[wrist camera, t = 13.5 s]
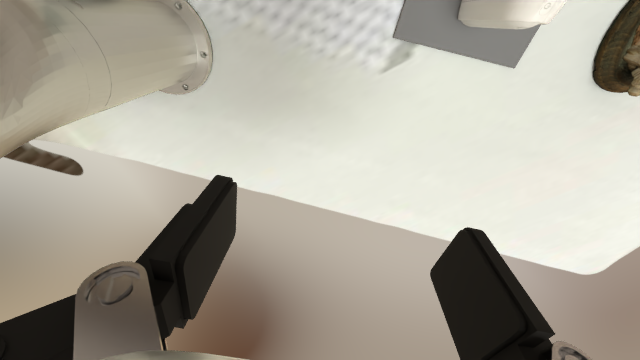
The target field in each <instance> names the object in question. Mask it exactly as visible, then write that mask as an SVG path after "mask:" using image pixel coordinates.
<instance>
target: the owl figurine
mask: <svg viewBox="0 0 640 360" xmlns="http://www.w3.org/2000/svg"><path fill="white" fill-rule="evenodd" d="M594 61H595V67H596V71H594V73H593V75H594V76H593V77H594V81H595V82H596V83H597V84H598V85H599V86H600V87H601V88H602V89H604V90H607V91H611V92H619V93H623V92H628V93H629V95H631V96H639V95H640V0H630V1H629V2H628V4H627V5H626V6H625V7H624V8H623V10H622V11H621V12H620V14H619V15H618V17H617V18H616V20H615V21H614V23H613V24H612V26H611V27H610V29H609V30H608V32H607V33H606V35H605V37H604V39H603V41H602V43H601V45H600V47H599V49H598V52H597V55H596V58H595V60H594Z"/></svg>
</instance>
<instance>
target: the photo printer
mask: <svg viewBox="0 0 640 360" xmlns="http://www.w3.org/2000/svg"><path fill="white" fill-rule="evenodd" d="M566 1H567V0H462V2H461V6H460V10H459V15H458V20H461V22H462V23H463V24H464V25H466V26H469V27H482V28H500V29H526V28H530V27H534V26H536V25H538V24H539V25H544V24H549V23H550V21H551V20H552V19H553V18H554V17H555V16H556V14H557V13H558V12H559V11H560V10H561V8H562V7H563V6H564V4H565V3H566Z"/></svg>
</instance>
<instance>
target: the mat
mask: <svg viewBox="0 0 640 360" xmlns="http://www.w3.org/2000/svg"><path fill="white" fill-rule="evenodd" d="M461 2H462V0H405V2H404V5H403V8H402V11H401V14H400V17H399V21H398V24H397V27H396V30H395V33H394V36H393V38H397V39H401V40H405V41H408V42H412V43H416V44H420V45H424V46H428V47H432V48H436V49H440V50H444V51H448V52H452V53H456V54H460V55H464V56H468V57H472V58H475V59H479V60H483V61H487V62H491V63H495V64H499V65H503V66H507V67H511V68H515V67H516V65H517V63H518V62H519V60H520V58H521V57H522V55H523V53H524V52H525V50H526V48H527V47H528V45H529V43H530V42H531V40H532V38H533V37H534V35H535V33H536V32H537V30H538V28H539V27H540V25H539V24H538V25H536V26H534V27H530V28H526V29H500V28H482V27H469V26H466V25H464V24H463V23H462V22H461V20H458V15H459V10H460V6H461Z"/></svg>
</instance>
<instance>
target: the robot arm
mask: <svg viewBox="0 0 640 360" xmlns="http://www.w3.org/2000/svg"><path fill="white" fill-rule="evenodd" d="M180 5H182V8H181V6H180ZM205 53H206V55H207V56H206V55H205ZM211 66H212V48H211V42H210V39H209V36H208V33H207V31H206V29H205V26H204V24H203V22H202V21H201V19H200V18H199V16H198V15H197V13H196V12H195V11H194V9H193V8H192V7H191V6H190V5H189V4H188V3H187V2H186V1H185V0H0V158H2V157H3V156H5V155H7V154H8V153H10V152H11V151H13V150H15V149H16V148H18V147H20V146H21V145H23V144H25V143H27V142H29V141H31V140H33V139H34V138H36V137H38V136H41V135H43V134H45V133H47V132H49V131H52V130H54V129H56V128H59V127H61V126H64V125H66V124H69V123H71V122H74V121H76V120H79V119H82V118H84V117H87V116H90V115H93V114H96V113H99V112H101V111H104V110H107V109H110V108H112V107H115V106H118V105H120V104H123V103H126V102H129V101H131V100H134V99H137V98H139V97H142V96H145V95H148V94H150V93H153V92H156V91H158V90H159V91H162V92H165V93H168V94H185V93H189V92H192V91H194V90H196V89H197V88H199V87H200V86H201V85H203V83H204V82H205V81H206V79H207V78H208V75H209V73H210V71H211ZM187 85H188V86H187ZM236 197H237V183H236V182H233V179H232V178H230V177H225V176H220V175H216V176H215V177H214V178H213V180H212V181H211V182H210V183H209V185H208V186H207V187H206V189H205V190H204V191H203V192H202V193H201V194H200V196H199V197H198V198H197V199H196V201H195V202H194V203H193V204H185V205H184V206H183V207H182V208H181V209H180V211H179V212H178V213H177V214H176V215H175V216H174V218H173V219H172V220H171V221H170V222H169V223H168V225H167V226H166V227H165V228H164V229H163V231H162V232H161V233H160V234H159V235H158V236H157V237H156V239H155V240H154V241H153V242H152V243H151V245H150V246H149V247H148V248H147V249H146V250H145V251H144V253H143V254H142V255H141V256H140V257H139V259H138V260H137V261H136V262H118V263H114V264H110V265H108V266H105V267H102V268H101V269H99V270H97V271H96V272H94V273H92V274H91V275H90V276H89V277H88V278H86V279H85V280H84V281H83V283H82V284H81V286H80V287H79V288H78V290H77V294H75V295H72V296H70V297H67V298H64V299H62V300H60V301H57V302H54V303H52V304H49V305H46V306H44V307H41V308H39V309H36V310H33V311H31V312H29V313H26V314H23V315H21V316H18V317H15V318H13V319H10V320H8V321H5V322H3V323H0V360H248V359H241V358H233V357H226V356H220V355H213V354H206V353H195V352H185V351H168V348H167V344H166V339H165V338H167V337H168V336H170V334H171V333H172V331H173V329H174V327H178V328H184V327H185V325H186V323H187V321H188V319H194V318H195V316H196V314H197V312H198V310H199V308H200V306H201V304H202V302H203V300H204V298H205V296H206V294H207V292H208V290H209V288H210V286H211V284H212V282H213V280H214V278H215V276H216V274H217V272H218V269H219V267H220V265H221V263H222V261H223V259H224V257H225V255H226V253H227V251H228V249H229V247H230V245H231V243H232V241H233V239H234V236H235V232H236V200H237V198H236ZM430 276H431V279H432V282H433V285H434V288H435V291H436V293H437V296H438V299H439V301H440V304H441V307H442V310H443V312H444V315H445V318H446V321H447V324H448V326H449V329H450V332H451V335H452V337H453V340H454V343H455V346H456V348H457V351H458V354H459V357H460V360H592V359H591V358H590V357H589V356H587V355H586V354H585V353H583V352H582V351H581V350H580V349H578V348H577V347H575V346H573V345H572V344H569V343H566V342H562V341H557V342H555V343H553V344H552V343H551V342H550V340H549V338H550V337H552V336H553V335H555V333H554V332H553V330H552V329H551V327H550V326H549V324H548V323H547V321H546V320H545V319H544V317H543V316H542V314H541V313H540V312H539V310H538V309H537V307H536V306H535V304H534V303H533V301H532V300H531V299H530V297H529V296H528V294H527V293H526V291H525V290H524V289H523V287H522V286H521V284H520V283H519V282H518V280H517V279H516V277H515V276H514V274H513V273H512V271H511V270H510V268H509V267H508V266H507V264H506V263H505V261H504V260H503V258H502V257H501V256H500V254H499V253H498V251H497V250H496V248H495V247H494V246H493V244H492V243H491V241H490V240H489V238H488V237H487V236H486V234H485V233H484V232H483V231H482V230H478V229H473V228H464V229H463V230H460V231H459V232H458V234H457V235H456V236H455V238H454V239H453V240H452V242H451V243H450V245H449V246H448V247H447V249H446V250H445V251H444V253H443V254H442V256H441V257H440V258H439V260H438V261H437V262H436V264H435V265H434V266H433V268H432V269H431V273H430Z"/></svg>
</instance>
